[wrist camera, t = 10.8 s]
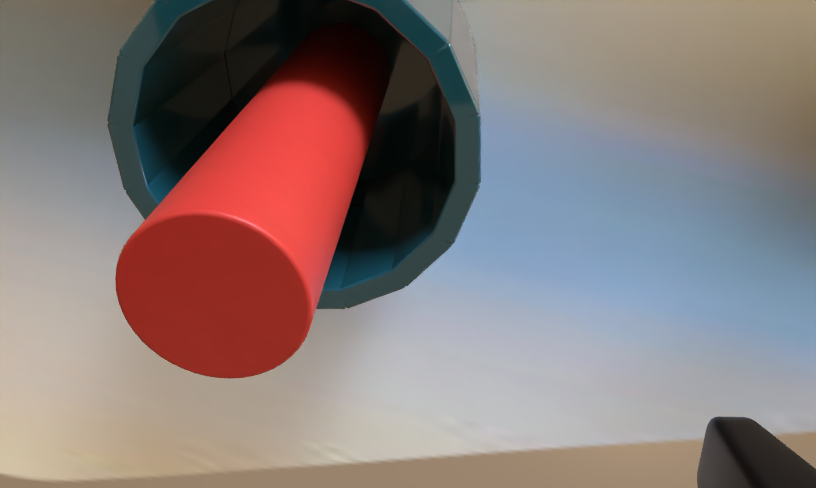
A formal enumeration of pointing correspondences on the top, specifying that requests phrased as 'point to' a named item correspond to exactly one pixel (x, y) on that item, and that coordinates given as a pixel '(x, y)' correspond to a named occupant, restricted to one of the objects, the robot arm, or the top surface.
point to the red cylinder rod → (258, 215)
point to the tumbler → (250, 70)
